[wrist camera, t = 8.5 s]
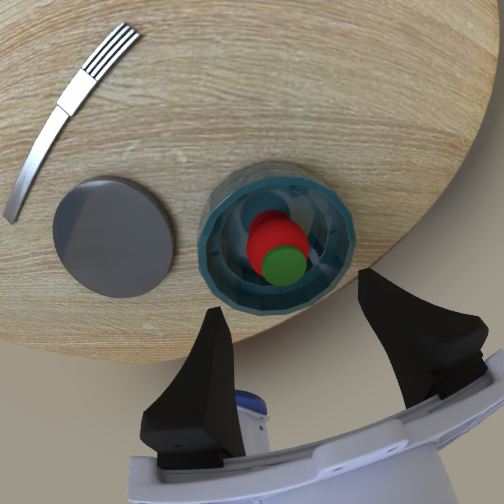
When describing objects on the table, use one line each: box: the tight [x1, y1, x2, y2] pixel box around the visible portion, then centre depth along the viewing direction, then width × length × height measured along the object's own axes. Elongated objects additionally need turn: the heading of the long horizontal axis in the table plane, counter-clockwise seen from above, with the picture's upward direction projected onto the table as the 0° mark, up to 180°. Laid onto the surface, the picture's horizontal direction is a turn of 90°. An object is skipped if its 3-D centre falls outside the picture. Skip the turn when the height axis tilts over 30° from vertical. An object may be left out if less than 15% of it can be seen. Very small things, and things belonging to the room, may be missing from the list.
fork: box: [3, 21, 141, 225], centre depth 15 cm, size 18×2×1 cm, turn 132°
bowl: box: [197, 162, 356, 316], centre depth 19 cm, size 10×10×4 cm
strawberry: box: [246, 210, 309, 286], centre depth 18 cm, size 4×4×5 cm
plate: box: [53, 176, 174, 298], centre depth 19 cm, size 10×10×1 cm
